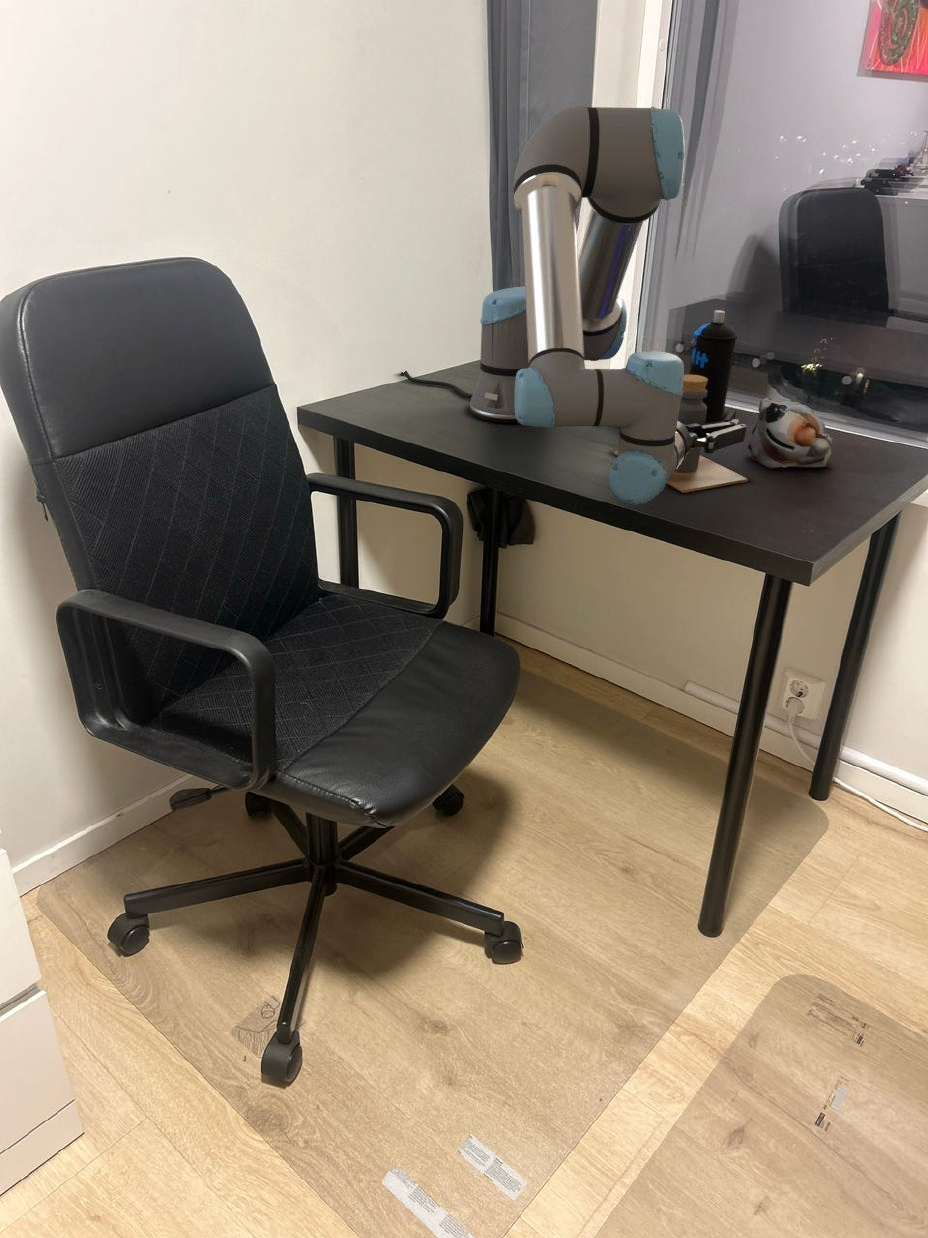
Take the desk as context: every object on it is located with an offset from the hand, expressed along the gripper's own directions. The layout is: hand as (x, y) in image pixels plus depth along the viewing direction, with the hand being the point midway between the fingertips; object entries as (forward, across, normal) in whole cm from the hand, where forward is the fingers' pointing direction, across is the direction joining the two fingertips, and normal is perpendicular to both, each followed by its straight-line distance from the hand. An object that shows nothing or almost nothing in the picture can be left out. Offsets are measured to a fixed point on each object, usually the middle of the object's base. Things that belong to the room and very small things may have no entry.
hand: (691, 411), depth 147 cm
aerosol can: (+30, -3, -9) cm, 32 cm away
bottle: (-3, 0, -9) cm, 10 cm away
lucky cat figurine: (+8, +16, -9) cm, 21 cm away
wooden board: (-2, 0, -9) cm, 9 cm away
